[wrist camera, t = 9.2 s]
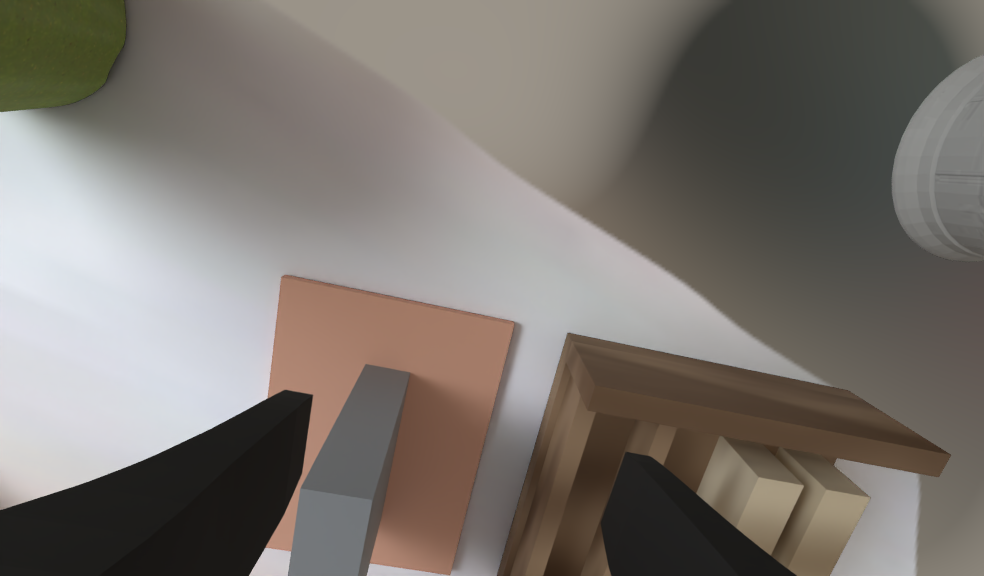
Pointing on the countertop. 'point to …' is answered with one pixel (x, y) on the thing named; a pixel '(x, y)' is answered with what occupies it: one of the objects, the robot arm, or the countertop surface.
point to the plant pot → (57, 50)
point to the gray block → (350, 480)
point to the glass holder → (945, 168)
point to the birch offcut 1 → (750, 489)
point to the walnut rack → (672, 440)
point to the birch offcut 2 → (817, 515)
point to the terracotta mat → (426, 413)
